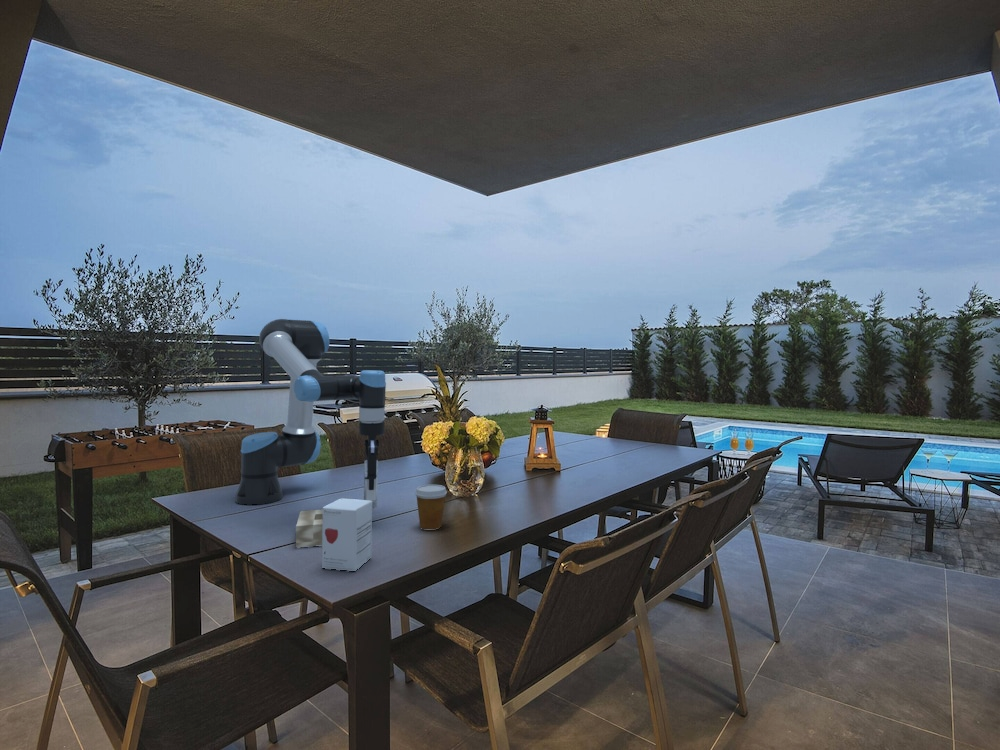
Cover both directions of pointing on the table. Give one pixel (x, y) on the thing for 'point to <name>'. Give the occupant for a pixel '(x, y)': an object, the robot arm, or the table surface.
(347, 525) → the supplement box
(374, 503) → the peg
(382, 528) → the table surface
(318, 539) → the bore block
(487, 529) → the table surface
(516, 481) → the table surface
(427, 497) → the disposable coffee cup
